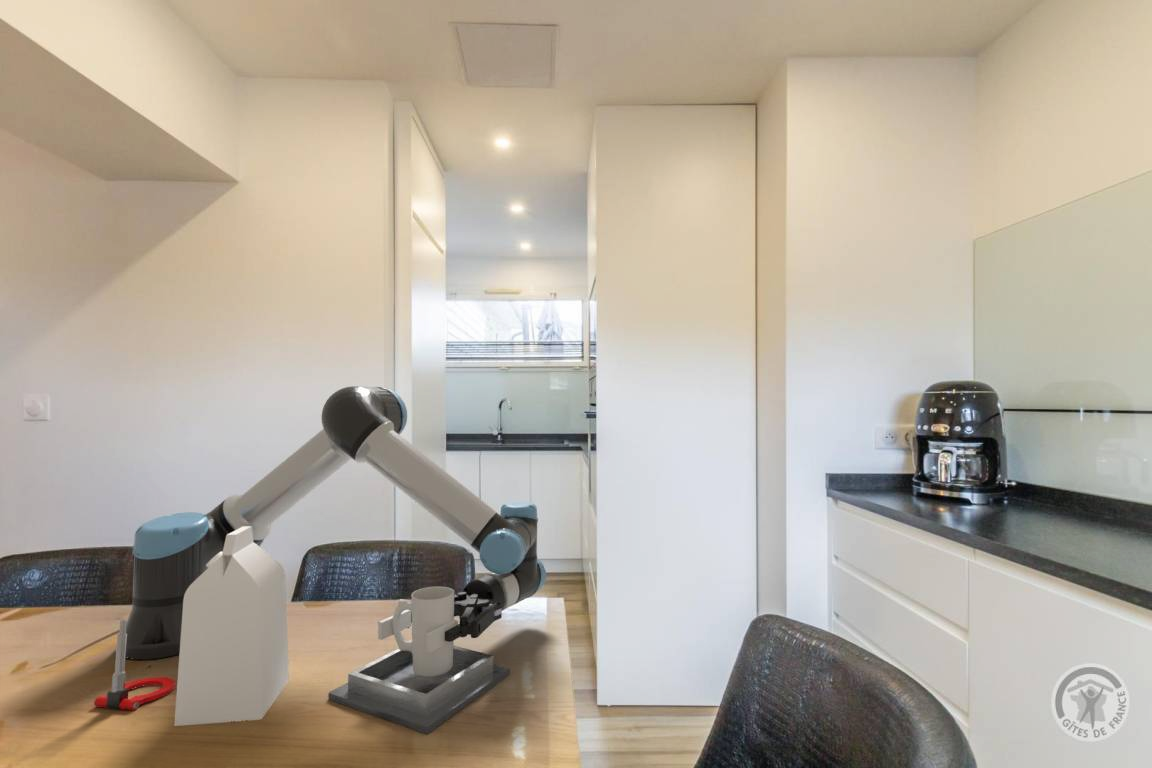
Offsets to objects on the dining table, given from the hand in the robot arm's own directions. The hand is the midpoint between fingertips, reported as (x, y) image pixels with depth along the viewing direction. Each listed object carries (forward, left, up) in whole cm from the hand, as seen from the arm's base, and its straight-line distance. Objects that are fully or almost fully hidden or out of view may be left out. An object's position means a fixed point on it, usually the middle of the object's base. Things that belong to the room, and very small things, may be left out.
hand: (403, 637), depth 90 cm
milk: (-22, -13, -10) cm, 27 cm away
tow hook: (-37, -19, -10) cm, 43 cm away
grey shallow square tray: (0, +4, -9) cm, 10 cm away
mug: (0, +4, -7) cm, 8 cm away
